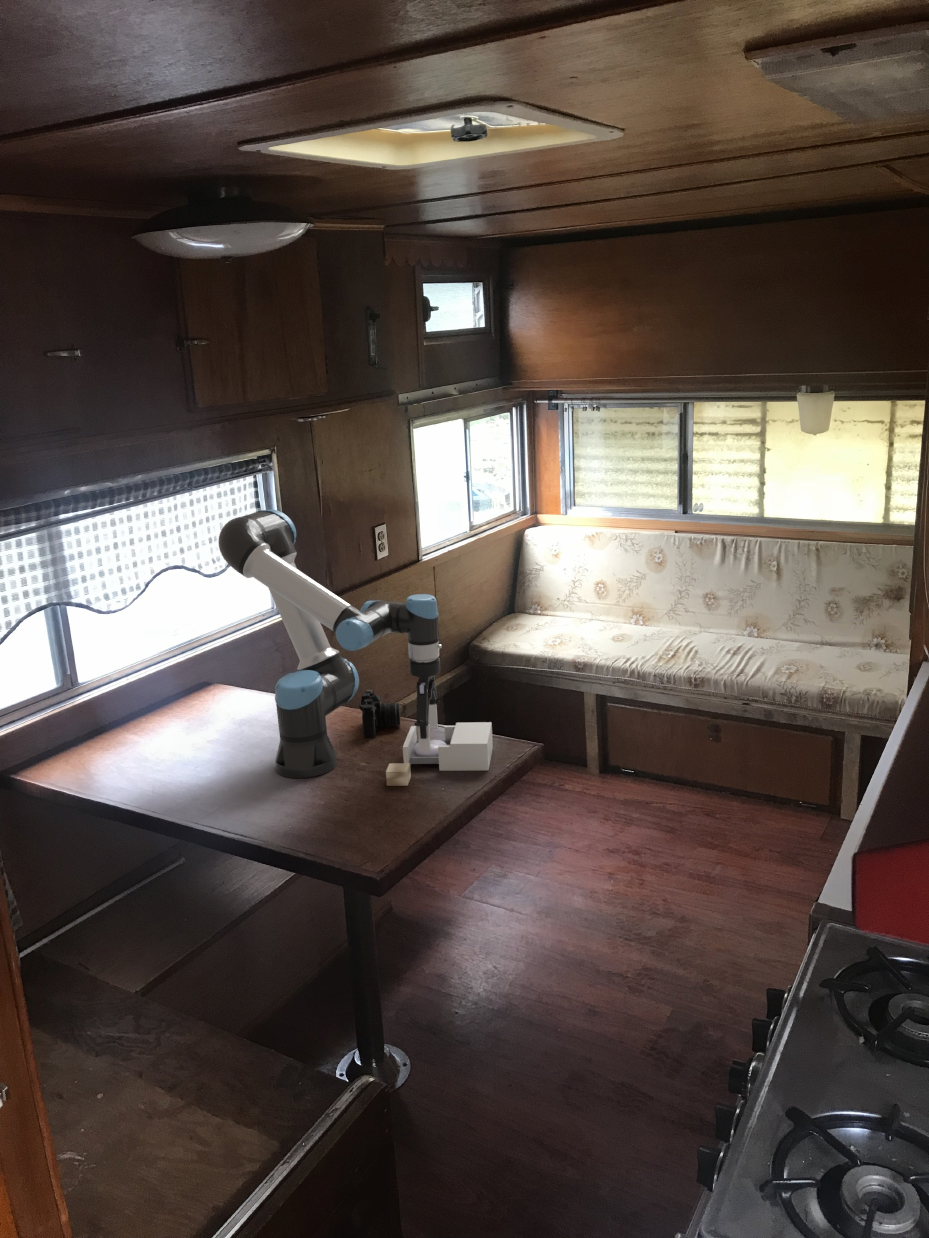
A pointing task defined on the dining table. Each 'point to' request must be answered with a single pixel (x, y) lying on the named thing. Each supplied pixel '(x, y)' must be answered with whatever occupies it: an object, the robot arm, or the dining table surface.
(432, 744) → the lid
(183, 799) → the dining table surface
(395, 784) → the beige block
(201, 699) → the dining table surface
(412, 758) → the tray
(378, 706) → the camera
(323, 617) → the robot arm
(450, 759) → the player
